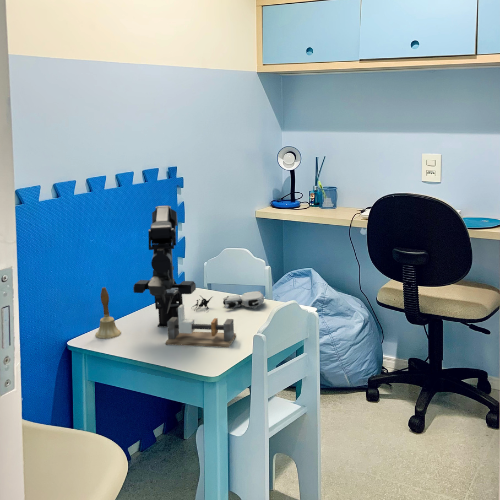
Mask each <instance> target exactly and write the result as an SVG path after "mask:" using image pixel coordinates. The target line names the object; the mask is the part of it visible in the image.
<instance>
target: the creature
mask: <svg viewBox="0 0 500 500" xmlns="http://www.w3.org/2000/svg"><path fill="white" fill-rule="evenodd" d="M200 297H201V299H200V298H198V299H197V300H196V304H194V305H193V306H192V308H194V307H195V308H194V310H195V312H197V311H198V310H199V309H202V308H203V307H204V308H206V311H207V310H208V311H209V310H210V308H209V306H208V304H209V303H210V301H211V300H212V298H213V296H211V297H210V298H209V299H208V300H207V299H206V298H204V297H203V296H200ZM199 301H200V302H199ZM199 303H200V304H199ZM206 311H205V312H206ZM208 311H207V312H206V313H208Z"/></svg>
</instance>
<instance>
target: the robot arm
mask: <svg viewBox="0 0 500 500" xmlns="http://www.w3.org/2000/svg"><path fill="white" fill-rule="evenodd" d="M171 207H172V206H170V205H158V206H155V210H154V211H152V212H151V224H150V229H148V250H149V251H152V252H153V253H152V254H153V255H152V257H151V261H150V264H151V265H150V266H151V268H152V277H151V278H150V279H149V280H147V279H140V280H138V281H137V282H136V283H134V284H133V287H132V288H133V289H132V290H133V293H134V294H143V293H144V292H145V291H146V290H148V291H149V295H151V296H153V297H154V305H155V310H158V324H157V327H160V328H168V327H167V322H168V321H169V320H170V319H171V318H172V317H178V307H179V306H180V305H184V304H183V302H184V300H183V295H191V294H193V292H195V291H196V290H197V287H196V285H197V284H196V282H195V281H194V280H183V281H181V282H180V283H177V282H176V280H175V278H174V270H175V266H174V265H173V250H174V249H175V246H177V233H176V232H177V231H176V230H177V229H176V227H177V226H178V213H177V211H176V210H174V209H172V208H171ZM178 323H179V318H178Z"/></svg>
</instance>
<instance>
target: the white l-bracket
mask: <svg viewBox="0 0 500 500" xmlns="http://www.w3.org/2000/svg"><path fill="white" fill-rule="evenodd" d="M185 316H186V314H185V304H183V305H180V306H179V307H178V318H179V333H192V332H195V330H196V329H192V324H195V319H193V318H192V319H190V318H186V317H185Z"/></svg>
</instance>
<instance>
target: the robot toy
mask: <svg viewBox="0 0 500 500" xmlns="http://www.w3.org/2000/svg"><path fill="white" fill-rule="evenodd" d="M222 299H223V302H222V303H223V308H226V309H227V308H228V309H236V308H240V307H241V306H242V305H243V307H246V308H250V309H256V308H258V307H259V306H261V305H263V304H264V302H265V299H264V294H263V293H262V292H261V290H258V291H256V290H255V291H248V292H244V293H243V294H241V295H239V294H234V295H227V296H226V297H223V298H222Z"/></svg>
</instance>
